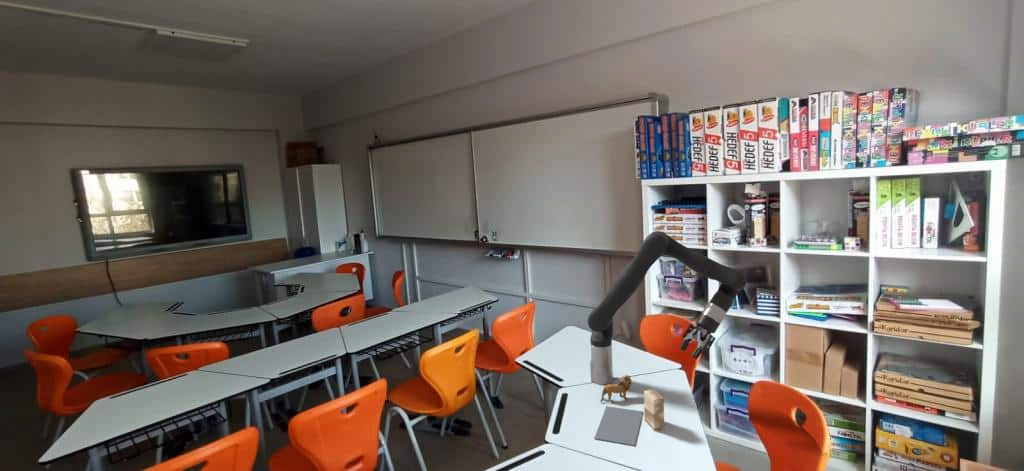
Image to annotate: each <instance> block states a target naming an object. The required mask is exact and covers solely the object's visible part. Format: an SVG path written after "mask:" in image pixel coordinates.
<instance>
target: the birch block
mask: <svg viewBox="0 0 1024 471" xmlns="http://www.w3.org/2000/svg"><path fill="white" fill-rule="evenodd" d="M643 407H644V408H643V410H644V411H643V412H644V422H645V423H646V424H647V425H648V426H649V427H650V428H651V429H652V430H653V432H655V431H661V430H665V399H664V397H663V395H661V394H660V393H659V392H658V391H657V390H656V389H655V388H653V389H651V388H650V389H647V390H644V391H643Z"/></svg>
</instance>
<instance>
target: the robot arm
mask: <svg viewBox="0 0 1024 471" xmlns="http://www.w3.org/2000/svg"><path fill="white" fill-rule="evenodd" d="M663 255H666V256H668V257H671V258H673V259H676V260H677V261H678V262H680V263H681V264H684V265H685V266H686V267H687V268H689V269H690V270H691V271H693V272H695V273H697V274H699V275H700V276H703V277H705V278H707V279H710V280H712V281H716V282H719V283H721V284H720V285H719V287H718V289H717V291H715V293H714V294H713V296H712V297H711V299H710V300H709V302H708V303H707V304H706V306H705V307H704V309H703V310H702V311H701V313H700V314H699V316H698V317H697V319H696V320H695V323H696V325H693V324H692V323H690V324H689V325H688V327H687V328H686V330H685V332H684V333H683V334H682V338H683V341H682V343H681V344H680V346H679V349H680V350H681V351H683V352H685V351H686V350H687V349H688V347H689V345H690V343H692V342H695V341H696V342H697V347H696V348H695V349H694V351H693V353H692V354H691V357H692V358H694V359H695V360H698V358H699V357H700V356H701V355H702V353H703V352H709V350H710V349H711V347H712V346H713V344H714V343H715V341H716V337H715V336H714V335H713V334H715V333H716V332H717V330H718V328H719V327H720V325H721V324H722V322H723V321H724V320H725V317H726V315H727V314H728V312H729V310H730V309H731V307H732V305H733V303H734V300H735V298H736V297H737V296H738V294H739V293H740V292H741V290H742V289H744V288H745V287H746V285H747V279H748V278H747V277H746V275H745V274H743V272H741V271H739V270H738V269H735V268H732V267H729V266H727V265H724V264H721V263H720V262H718V261H715V260H714V259H711V258H709V257H707V256H705V255H703V254H701V253H698V252H697V251H695V250H692V249H691V248H689V247H687V246H685V245H683V244H682V243H681V242H678V241H677V240H675V239H674V238H673V237H671V236H670V235H668V234H667V233H665V232H664V231H661V230H656V231H652V232H651V233H650V234H648V235H647V236H646V237H645V238H644V241H643V242H642V245H640V248H639V250H638V251H637V253H636V254H635V256H634V257H633V259H632V260H631V261H629V262H628V264H627V265H626V266H624V268H623V269H622V271H621V272H619V274H618V276H617V277H616V278H615V280H613V283H612V284H611V286H610V287H609V289H608V290H607V293H606V294H605V296H604V297H603V300H601V302H600V303H599V304H597V305H598V306H596V307H595V308H594V309H593V310H592V311H591V312H590V313H589V315H588V317H587V325H588V326H587V327H589V329H590V330H591V333H590V334H591V335H590V341H589V342H590V361H589V366H590V367H589V369H590V382H593V383H595V384H599V385H608V384H611V383H613V381H614V373H613V372H614V371H613V369H614V366H613V364H614V363H613V341H612V340H613V333H614V332H613V330H614V329H613V328H614V326H613V323H614V321H613V317H614V316H615V315H616V313H617V311H619V309H620V308H621V307H623V306H624V305H625V303H626V302H627V301H628V300H629V299H630V298H631V297H632V296H633V294H634V293H635V292H637V290H638V288H639V287H640V285H641V284H642V282H643V281H644V279H645V277H646V275H647V273H648V272H649V269H650V268H651V267H653V264H655V262H657V260H659V259H660V258H661V257H662V256H663Z"/></svg>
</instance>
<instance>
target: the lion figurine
mask: <svg viewBox="0 0 1024 471" xmlns="http://www.w3.org/2000/svg"><path fill="white" fill-rule="evenodd" d="M631 386H632V379H631V376H630V375H628V374H625V375H623V376H621V380H620V382H619V383H616V384H611V383H609V384H605V386H604V387H603V389H602V393H601V399H600V403H602V402H603V401H605V399H606V398H605V395H607V396H608V398H607V399H608V401H610V402H611V403H614V400H613V399H612V395H613V394H619V397H620V398H623V400H625V401H626V400H628V397H626V396H627V392H628V391H629V390H630V389H631Z"/></svg>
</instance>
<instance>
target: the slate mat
mask: <svg viewBox="0 0 1024 471" xmlns="http://www.w3.org/2000/svg"><path fill="white" fill-rule="evenodd" d="M643 412H644V411H642V410H635V409H630V408H629V409H627V408H622V407H616V406H615V407H614V406H608V405H606V406H605V408H604V412H603V414H602V416H601V419H600V423H599V425H598V428H597V430H596V434H595V436H594V438H593V439H594V440H596V441H604V442H609V443H614V444H619V445H626V446H631V447H636V442H637V438H638V434H639V430H640V425H641V421H642V417H643Z"/></svg>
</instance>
